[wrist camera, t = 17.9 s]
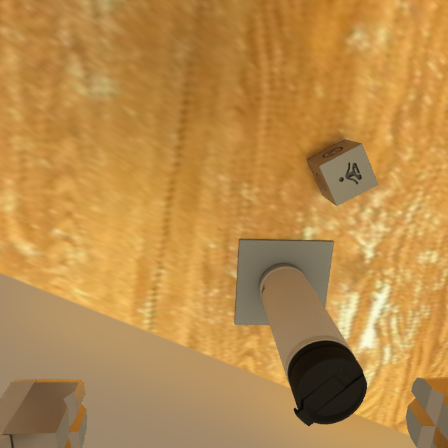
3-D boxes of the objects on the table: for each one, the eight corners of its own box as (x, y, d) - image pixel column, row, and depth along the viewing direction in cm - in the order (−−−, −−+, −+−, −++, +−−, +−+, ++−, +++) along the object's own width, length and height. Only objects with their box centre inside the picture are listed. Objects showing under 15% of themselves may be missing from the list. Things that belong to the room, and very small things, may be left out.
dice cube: (359, 176, 46) (378, 184, 42) (322, 195, 47) (336, 206, 42) (344, 139, 45) (362, 143, 40) (306, 159, 45) (319, 166, 41)
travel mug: (246, 285, 49) (276, 399, 30) (285, 253, 48) (342, 350, 29) (276, 316, 51) (323, 443, 32) (315, 285, 50) (387, 397, 31)
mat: (239, 239, 48) (239, 240, 47) (332, 240, 48) (333, 241, 48) (234, 322, 51) (234, 324, 51) (321, 323, 52) (322, 324, 52)
